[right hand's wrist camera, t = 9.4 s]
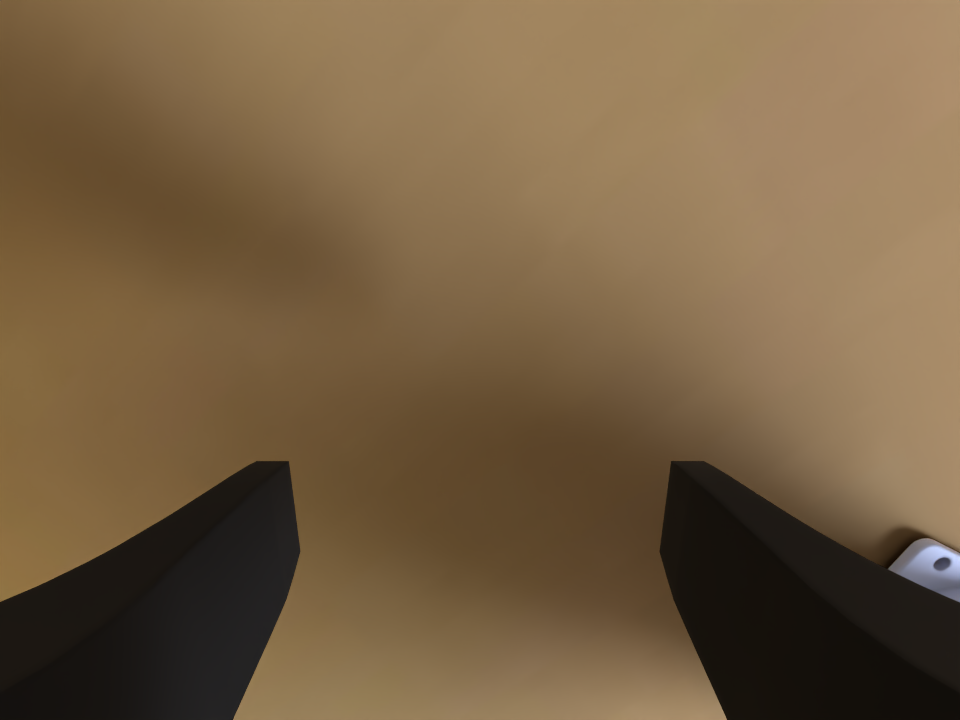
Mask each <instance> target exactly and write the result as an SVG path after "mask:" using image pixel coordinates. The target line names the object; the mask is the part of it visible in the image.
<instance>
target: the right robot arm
mask: <svg viewBox="0 0 960 720" xmlns="http://www.w3.org/2000/svg"><path fill="white" fill-rule="evenodd" d="M299 554H300V545H299V537H298V529H297V522H296V514H295V506H294V498H293V490H292V482H291V475H290V467H289V461H256V462H254V463H252V464H250V465H248V466H247V467H245V468H243V469H242V470H240V471H238V472H237V473H235V474H233V475H232V476H230V477H229V478H227V479H226V480H224V481H222V482H221V483H219V484H218V485H216V486H215V487H213V488H212V489H210V490H208V491H207V492H205V493H204V494H202V495H201V496H199V497H198V498H196V499H194V500H193V501H191V502H190V503H188V504H187V505H185V506H183V507H182V508H180V509H179V510H177V511H176V512H174V513H173V514H171V515H169V516H168V517H166V518H164V519H163V520H161V521H159V522H157V523H156V524H154V525H152V526H151V527H149V528H147V529H146V530H144V531H142V532H140V533H139V534H137V535H135V536H134V537H132V538H130V539H129V540H127V541H125V542H123V543H122V544H120V545H118V546H117V547H115V548H113V549H111V550H109V551H107V552H106V553H104V554H102V555H100V556H98V557H96V558H94V559H92V560H90V561H89V562H87V563H85V564H83V565H81V566H79V567H76V568H74V569H72V570H70V571H68V572H66V573H64V574H62V575H60V576H58V577H56V578H54V579H52V580H50V581H48V582H46V583H43V584H41V585H39V586H37V587H35V588H32V589H30V590H28V591H25V592H23V593H21V594H18V595H16V596H13V597H11V598H9V599H6V600H4V601H2V602H0V720H233V718H234V716H235V713H236V711H237V709H238V707H239V705H240V702H241V700H242V698H243V696H244V694H245V691H246V689H247V687H248V685H249V682H250V680H251V678H252V676H253V674H254V671H255V669H256V667H257V665H258V662H259V660H260V658H261V656H262V654H263V651H264V649H265V647H266V645H267V642H268V640H269V638H270V636H271V633H272V631H273V629H274V627H275V624H276V622H277V620H278V618H279V615H280V613H281V611H282V608H283V606H284V604H285V601H286V599H287V595H288V592H289V589H290V586H291V583H292V579H293V576H294V572H295V569H296V565H297V562H298V558H299ZM660 554H661V558H662V562H663V565H664V569H665V572H666V576H667V579H668V583H669V586H670V589H671V592H672V595H673V599H674V601H675V604H676V606H677V608H678V611H679V613H680V615H681V618H682V620H683V622H684V624H685V627H686V629H687V631H688V633H689V636H690V638H691V640H692V642H693V645H694V647H695V649H696V651H697V654H698V656H699V658H700V660H701V662H702V665H703V667H704V669H705V671H706V674H707V676H708V678H709V680H710V682H711V685H712V687H713V689H714V691H715V694H716V696H717V698H718V700H719V702H720V705H721V707H722V709H723V711H724V713H725V716H726V718H727V720H960V553H959V552H957V551H955V550H953V549H951V548H949V547H947V546H945V545H943V544H941V543H939V542H937V541H935V540H933V539H929V538H924V539H919V540H917V541H915V542H913V543H912V544H911V545H910V546H909V547H908V548H907V549H906V550H905V551H904V552H903V553H902V554H901V555H900V556H899V557H898V559H897V560H896V561H895V562H894V563H893V564H892V565H891V566H890V567H889V568H888V569H886V568H884V567H882V566H880V565H878V564H876V563H874V562H872V561H870V560H868V559H866V558H864V557H862V556H861V555H859V554H857V553H855V552H853V551H851V550H849V549H848V548H846V547H844V546H842V545H841V544H839V543H837V542H835V541H833V540H832V539H830V538H828V537H826V536H825V535H823V534H821V533H819V532H818V531H816V530H814V529H813V528H811V527H809V526H808V525H806V524H804V523H803V522H801V521H799V520H798V519H796V518H794V517H793V516H791V515H790V514H788V513H786V512H785V511H783V510H782V509H780V508H778V507H777V506H775V505H774V504H772V503H771V502H769V501H767V500H766V499H764V498H763V497H761V496H760V495H758V494H757V493H755V492H753V491H752V490H750V489H749V488H747V487H746V486H744V485H743V484H741V483H740V482H738V481H736V480H735V479H733V478H732V477H730V476H729V475H727V474H725V473H724V472H722V471H720V470H719V469H717V468H715V467H714V466H712V465H710V464H708V463H706V462H704V461H671V467H670V475H669V482H668V490H667V498H666V506H665V514H664V522H663V529H662V537H661V545H660ZM939 558H940V559H939ZM938 559H939V560H938ZM936 560H937V561H936ZM935 561H936V562H935Z"/></svg>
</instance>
